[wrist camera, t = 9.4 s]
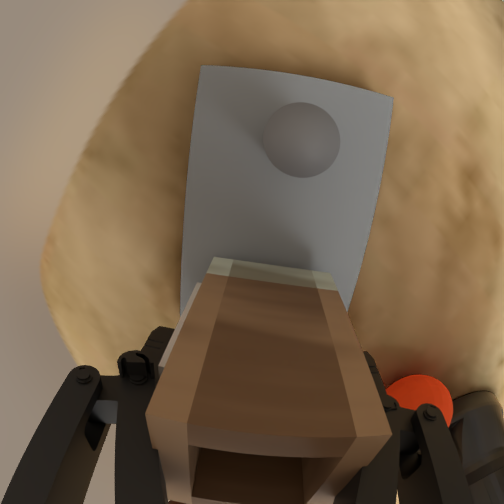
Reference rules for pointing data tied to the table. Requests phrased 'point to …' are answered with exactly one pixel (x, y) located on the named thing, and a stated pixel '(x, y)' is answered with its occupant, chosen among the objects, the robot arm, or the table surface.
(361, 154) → the pin board
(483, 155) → the table surface
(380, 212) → the table surface
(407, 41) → the table surface
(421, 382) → the clementine
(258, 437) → the sleeve
